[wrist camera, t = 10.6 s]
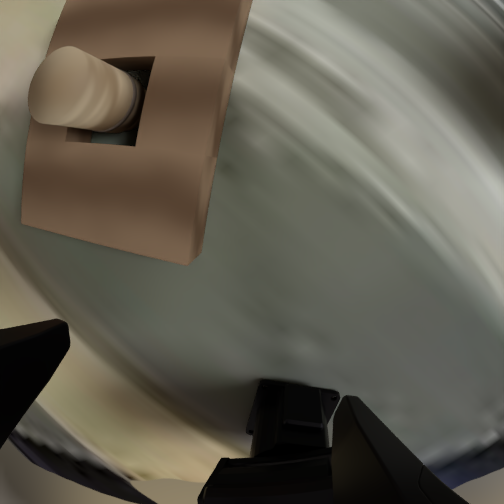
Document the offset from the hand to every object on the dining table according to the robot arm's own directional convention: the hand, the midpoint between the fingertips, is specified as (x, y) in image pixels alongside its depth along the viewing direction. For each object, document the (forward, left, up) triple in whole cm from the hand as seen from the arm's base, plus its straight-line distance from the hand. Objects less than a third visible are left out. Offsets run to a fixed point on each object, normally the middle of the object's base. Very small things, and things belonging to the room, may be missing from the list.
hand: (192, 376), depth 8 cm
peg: (+9, +10, -12) cm, 18 cm away
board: (+9, +10, -12) cm, 18 cm away
